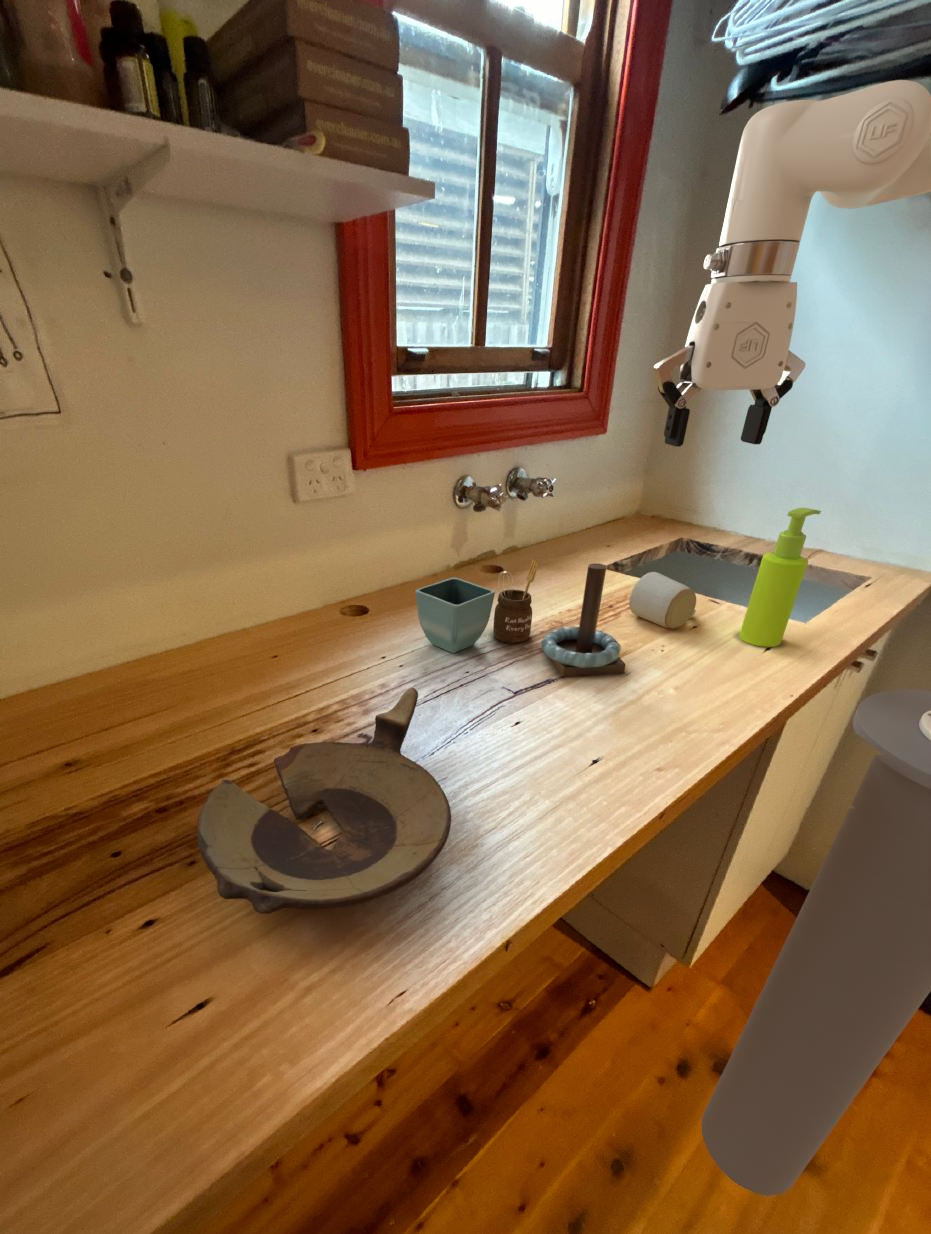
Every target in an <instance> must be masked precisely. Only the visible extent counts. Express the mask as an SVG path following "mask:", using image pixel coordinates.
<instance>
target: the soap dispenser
mask: <svg viewBox="0 0 931 1234" xmlns="http://www.w3.org/2000/svg"><path fill="white" fill-rule="evenodd" d="M821 512H822V511H821V510H818V509H813V508H809V507H798V508H795V509H792V510H789V511H788V512H787V515H786V516H787V517H791V518H790V521H789V524H788V528H787V529H786V530H784V531H781V532H779V535H778V538H777V541H776V545H775V548H774V551H773V552H766V553H764V554H763V555H762V558H761V562H760V565H759V567H758V571H757V575H756V578H755V580H754V585H753V588H752V591H751V595H750V597H749V601H748V604H747V608H746V611H745V614H744V618H743V620H742V625H741V628H740V631H739V634H738V636H739V638H740V640H742V641H743V642H745V643H747V644H750V645H753V646H757V647H763V648H774V647H778V646H780V645H781V643H782V641H783V638H784V634H785V632H786V629H787V626H788V623H789V620H790V618H791V614H792V611H793V608H794V605H795V603H796V599H797V597H798V593H799V590H800V587H801V584H802V582H803V579H804V576H805V572H806V570H807V567H808V564H809V559H808V558H806V557H804V556H801V554H802V551H803V548H804V546H805V542H806V538H807V535H806V534H804V532H802V530H803V527H804V524H805V521H806V517H809V516H812V515H820V514H821Z"/></svg>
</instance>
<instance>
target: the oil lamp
mask: <svg viewBox="0 0 931 1234" xmlns="http://www.w3.org/2000/svg"><path fill="white" fill-rule="evenodd" d="M401 695H402V696H401V697H400V698H399V700H398V701H397V703H396V704H395V705H394V706H393V707H392V708H391V709H390V710H388V711H386V712H381V713H378V714H376V715H375V718H374V721H375V727H374V731H373V734H374V735H373V738H372V740H371V741H370V742H365V741H363V742H342V741H321V742H308V743H305V742H304V743H300V744H298V745H293V746H291V747H290V748H289V750H288V751H287V752H286V753H284V754H283V755H278V756H277V757H275V758H274V759H273V764H274V766H275V769H276V770H275V771H276V773H277V775H278V777H279V781H280V782H281V786H282V789H283V790H284V795H285V796H286V797H287V800H288V803H289V808H290V809H291V811H292V814H293V816H294V817H295V820H297V821H298V820H302V819H304V818H306V817H307V816H310V815H311V814H312V813H313V812H315V811H316V810H317V809H318V808H319V805H322V804H323V805H324V806H325V808H326V810H327V812H328V814H330V817H331V818H332V820H333V821H334V822H335V823H336V824H337V825H338V826H339V827H340V829H341V830H342V832H341V833H340V835H339V836H338V838H337V839H336V841H335V844H334V845H333V847H332V848H331V849H326V848H325V847H323V846H322V845H321V844H320V843H319V842H318V840H317V839H314V838H313V837H312V836H311V835H309V833H307V832H306V830H304V829H302V827H300V826H299V825H298V824H296V823H295V822H294V821H292V820H290V819H289V817H286V816H284V815H283V814H282V813H280V812H278V811H276V810H274V809H273V808H271V807H269V806H267V805H266V804H265V803H263V802H260V801H258V800H256V799H255V798H254V797H253V796H252V795H251V794H250V793H248V792H246V791H244V790H243V789H242V788H241V787H240V786H238V784H236V783H235V782H234V781H233V780H230V779H222V780H221V782H220V783H219V784H218V785H217V786H216V787H215V788H213V789H212V790H211V792H210V793H208V795H207V797H206V799H205V801H204V803H203V805H202V808H201V809H200V812H199V814H198V816H197V817H198V818H197V826H196V835H197V838H196V839H197V844H198V848H199V851H200V854H201V857H202V860H203V862H204V863H205V865H206V867H207V869H208V870H209V871H210V872H211V874H212V875H213V876H214V878H215V880H216V882H217V887H216V888H217V894H218V895H219V896H220V897H221V898H222V899H225V900H241V899H243V900H247V901H249V902H250V903H251V905H252V907H253V910H255V912H256V913H258V914H261V915H268V914H272V913H274V912H278V911H280V910H283V909H290V910H291V909H294V910H304V911H306V910H307V911H310V910H311V911H318V910H320V911H321V910H332V909H333V910H334V909H340V908H341V909H342V908H347V907H351V906H357V905H360V904H361V905H362V904H364V903H368V902H371V901H373V900H377V899H379V898H381V897H384V896H386V895H390V894H391V893H393V892H395V891H397V890H399V889H401V888H403V887H404V886H406V885H408V884H409V883H411V882H412V881H414V880H415V879H417V878H418V877H420V876H421V875H422V874H423V873H424V872H425V871H426V870H428V869H429V867H430V866H431V865H432V864H433V863H434V862H435V860H436V859H437V858H438V856H439V855H440V854H441V852H442V850H443V849H444V847H445V845H446V843H447V840H448V838H449V835H450V832H451V826H452V810H451V806H450V802H449V800H448V797H447V795H446V793H445V790H444V789H442V786H441V785H440V783H439V782H438V781H437V779H436V778H435V777H434V776H433V774H431V773H430V772H429V771H428V770H427V769H425V767H423V766H421V764H419V763H417V762H416V761H414V760H412V759H410V758H409V757H406V756H405V755H403V754H402V752H401V749H402V745H403V743H404V741H405V739H406V736H407V733H408V730H409V728H410V725H411V721H412V719H413V717H414V714H415V710H416V706H417V703H418V699H419V692H418V690H417V688H415V687H410V688H408V689H406V691H404V693H402V694H401ZM324 822H325V820H319V822H318V823H317V824H316V825H315V826H314V828H313V831H315V830H316V828H317V827H318V826H319V825H321V824H322V823H324Z"/></svg>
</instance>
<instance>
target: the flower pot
mask: <svg viewBox="0 0 931 1234" xmlns="http://www.w3.org/2000/svg"><path fill="white" fill-rule="evenodd" d="M495 594H496V591H495V590H493V589H490V588H488V587H484V586H481V585H479V584H476V583H473V582H470V581H468V580H464V579H461V578H458V577H450V578H446V579H443V580H441V581H438V582H436V583H435V582H434V583H433V584H429V585H426V586H423V587H420V588H417V589H415V600H416V601H415V602H416V609H417V616H418V621H419V624H420V627H421V630H422V632H423V634H424V635H425V637H426V639H427V640H428V642H429V643H430V644H432V645H434V646H436V647H438V648H440V649H443V650H444V651H447V652H449V653H452V654H456V653H458V652H459V651H462V650H464V649H467V648H469V647H471V646H474V645H475V644H476V643H477V642H478V640H479V639H480V638H481V636H482V635H483V633H484V632H485V630H486V628H487V626H488V623H489V620H490V617H491V613H492V608H493V605H494V604H493V603H494V599H495Z"/></svg>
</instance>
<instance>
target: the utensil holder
mask: <svg viewBox="0 0 931 1234" xmlns="http://www.w3.org/2000/svg"><path fill="white" fill-rule="evenodd" d="M539 563H540V562H539V561H537V560H535V559H532V560H531V564H530V567H529V570H528V572H527V574H526V581H527V583H526V586H525V590H522V589H514V577H513V575H512V574H510V571H507V570H505V571H504V570H503V571H501V572H500V574H499V575H498V576H497V578H498V579H500V578H501V579H502V583H505V581H504V580H505V579H504V578H505V575H502V574H506V575H508V573H509V574H510V576H511V584H512V586H511V588H512V589H505V588H502V591H501V586H502V587H504V584H501V586H500V581H497V583H498V589H499V593H498V596H497V604H496V605H495V608H494V613H493V625H492V626H493V628H492V629H493V630H492V631H493V636H494V638H495V639H497V640H498V641H500V642H504V643H509V644H517V643H523V642H525V641H527V640H529V638H530V635H531V630H532V621H533V607H532V605H531V604H532V594H531V593H529V592H528V590H529V588H530V585H531V583H533V582H534V580H535V577H536V573H537V570H538V567H539ZM506 577H507V578H506V581H508V585H511V584H510V580H509V579H510V577H509V576H506Z"/></svg>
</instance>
